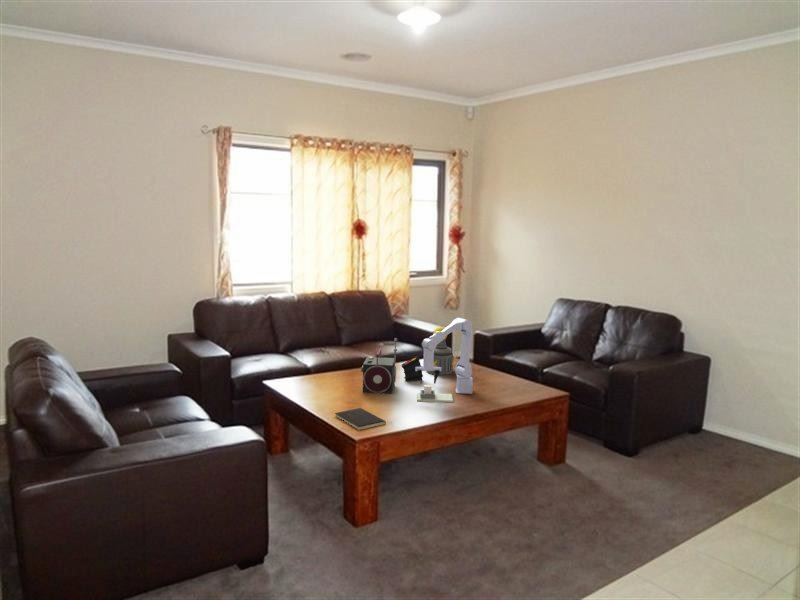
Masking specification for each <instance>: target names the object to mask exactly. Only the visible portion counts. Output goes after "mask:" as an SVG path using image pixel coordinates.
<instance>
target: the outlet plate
mask: <svg viewBox="0 0 800 600" xmlns="http://www.w3.org/2000/svg"><path fill="white" fill-rule="evenodd" d="M419 391H420V392H416V401H417V402H428V403H429V402H433V403H434V402H435V403H453V402H454V399H453V394H452V393H437V392H435V390H434V389H432V392H431V394H424V389H420V390H419Z"/></svg>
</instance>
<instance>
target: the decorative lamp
mask: <svg viewBox="0 0 800 600" xmlns="http://www.w3.org/2000/svg"><path fill="white" fill-rule="evenodd" d="M445 328H446V327H442V326H438V327H436V328H435V329H434V331H433V335H434V334H435V332H436V331H442V330H444V329H445ZM447 337H448V335H446V336H445V339H444V340H443V341H441V342H440V343H438V344H437V345H436V348H435V349H434V365H433V367H441V371H439V375H438V376H445V375H449V374H450V375H451V374H452V373H453V372H454V368H455V357H454V353H453V349H452V348H451V347H449V346H447V342H446V339H447ZM426 373H428V374H431V375H434V371H426Z"/></svg>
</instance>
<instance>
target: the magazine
mask: <svg viewBox="0 0 800 600" xmlns="http://www.w3.org/2000/svg"><path fill="white" fill-rule="evenodd" d="M415 367H422V365H421V362H420V358H419V357H418V356H414V357H412V358H411V359H409V360H407V361H405V362H403V363H402V364H401V368H402V369H403V374H404V377H403V379H404V381H405V382H408V383H409V382H418V381H419V382H420V377H419V375H418V372H417V371H415ZM423 377H424V375H423V374H422V378H423Z"/></svg>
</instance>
